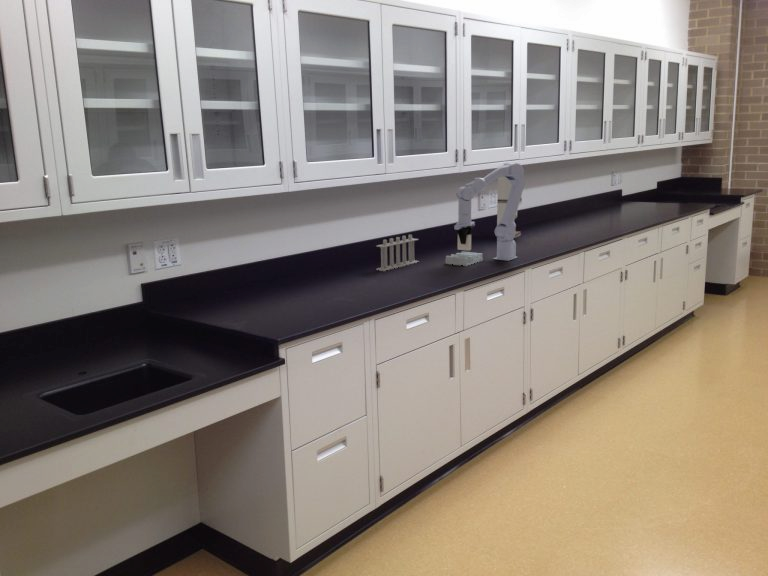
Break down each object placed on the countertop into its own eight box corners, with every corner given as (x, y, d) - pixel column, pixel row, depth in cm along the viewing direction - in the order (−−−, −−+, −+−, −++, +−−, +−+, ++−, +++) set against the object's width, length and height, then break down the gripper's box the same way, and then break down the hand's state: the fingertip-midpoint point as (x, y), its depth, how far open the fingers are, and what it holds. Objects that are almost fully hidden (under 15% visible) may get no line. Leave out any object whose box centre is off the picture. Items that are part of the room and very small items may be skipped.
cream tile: (459, 248, 309) (459, 233, 307) (471, 249, 305) (471, 234, 303) (457, 249, 307) (457, 234, 306) (468, 250, 304) (468, 235, 302)
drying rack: (462, 258, 316) (462, 251, 315) (482, 261, 310) (482, 253, 309) (445, 263, 305) (445, 256, 304) (466, 266, 299) (466, 258, 298)
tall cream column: (515, 238, 373) (516, 174, 365) (496, 237, 378) (497, 174, 370) (520, 235, 383) (522, 173, 375) (502, 234, 388) (503, 172, 380)
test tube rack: (411, 261, 313) (411, 233, 310) (419, 262, 310) (418, 234, 307) (376, 270, 294) (375, 240, 291) (383, 271, 292) (383, 241, 289)
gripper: (465, 211, 310) (465, 240, 313) (448, 214, 299) (448, 245, 302) (478, 212, 306) (478, 241, 309) (462, 215, 295) (462, 246, 298)
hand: (464, 243), depth 305 cm, fingers closed on cream tile, 2 cm apart
